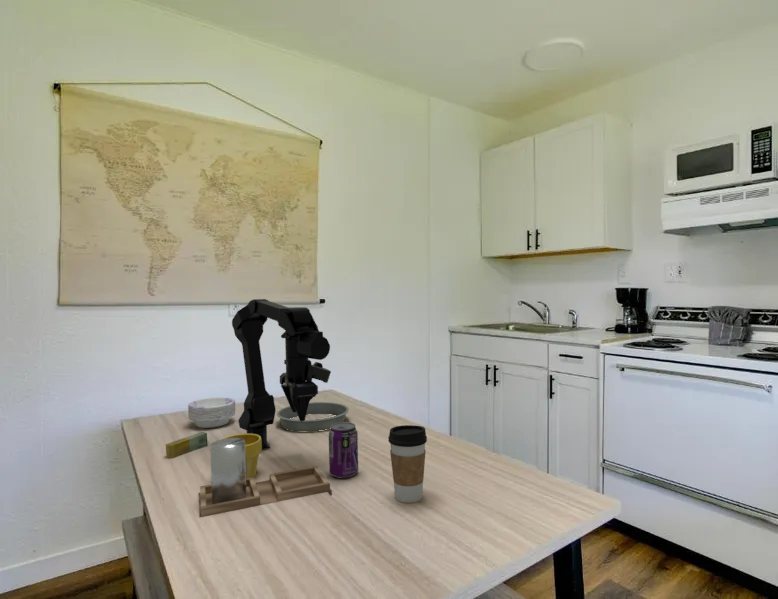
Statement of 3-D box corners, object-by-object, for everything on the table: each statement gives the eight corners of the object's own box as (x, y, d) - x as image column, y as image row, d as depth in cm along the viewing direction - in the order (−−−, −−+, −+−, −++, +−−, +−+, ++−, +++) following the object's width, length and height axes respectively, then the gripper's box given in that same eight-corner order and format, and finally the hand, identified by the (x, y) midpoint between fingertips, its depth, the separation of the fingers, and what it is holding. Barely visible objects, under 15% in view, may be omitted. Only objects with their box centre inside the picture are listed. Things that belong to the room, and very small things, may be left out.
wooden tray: (198, 497, 100) (198, 486, 100) (318, 475, 111) (317, 465, 111) (199, 522, 89) (199, 509, 89) (331, 495, 100) (331, 484, 100)
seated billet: (211, 495, 99) (209, 440, 99) (244, 489, 102) (243, 436, 101) (212, 509, 92) (210, 450, 92) (248, 502, 95) (246, 445, 95)
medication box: (202, 444, 136) (201, 431, 136) (208, 445, 135) (207, 432, 135) (165, 458, 125) (164, 443, 125) (171, 459, 124) (170, 444, 124)
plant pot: (209, 481, 109) (208, 441, 108) (247, 468, 116) (246, 430, 116) (232, 493, 102) (231, 450, 102) (271, 478, 110) (270, 438, 110)
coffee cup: (416, 509, 93) (415, 436, 92) (382, 499, 97) (380, 430, 97) (434, 493, 100) (433, 425, 100) (401, 485, 104) (400, 420, 104)
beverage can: (353, 480, 107) (352, 430, 107) (325, 478, 109) (324, 429, 108) (361, 469, 114) (360, 422, 114) (334, 467, 116) (333, 420, 115)
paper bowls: (245, 421, 159) (244, 399, 158) (207, 433, 146) (206, 409, 146) (217, 416, 167) (216, 394, 167) (179, 427, 154) (178, 403, 154)
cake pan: (362, 418, 160) (362, 406, 160) (318, 438, 139) (317, 424, 139) (309, 410, 173) (309, 398, 173) (261, 427, 152) (260, 414, 152)
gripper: (337, 358, 111) (339, 421, 111) (318, 349, 128) (319, 404, 129) (292, 362, 107) (293, 427, 107) (278, 352, 124) (280, 409, 124)
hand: (298, 416), depth 117 cm, fingers open, 9 cm apart
